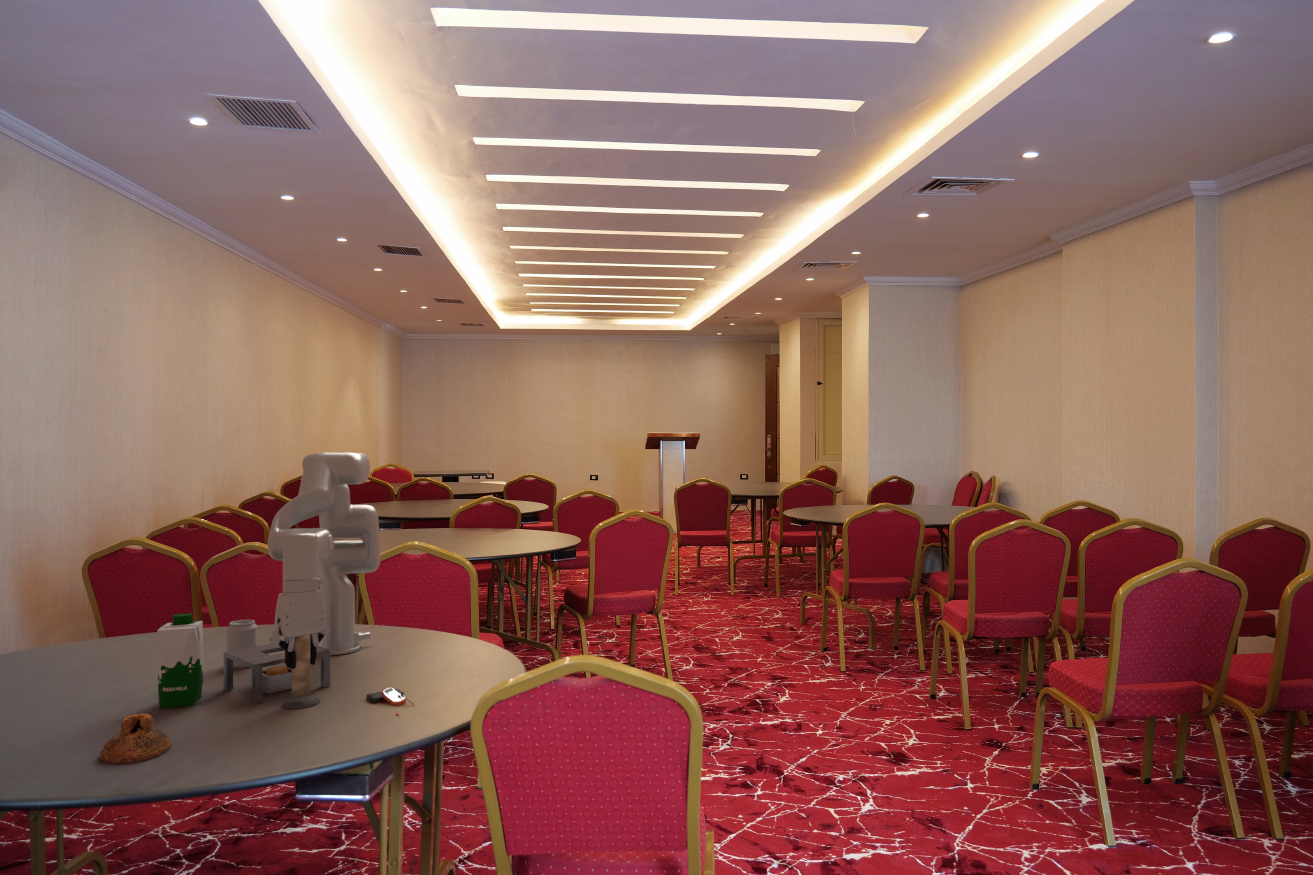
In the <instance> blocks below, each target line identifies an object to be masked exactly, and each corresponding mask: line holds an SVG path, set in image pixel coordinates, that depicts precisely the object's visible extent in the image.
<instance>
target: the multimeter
mask: <svg viewBox="0 0 1313 875" xmlns="http://www.w3.org/2000/svg"><path fill="white" fill-rule="evenodd" d="M366 700H367V701H368V702H370V703H371V704H378V703H383V702H388V703H389V704H390V705H392V704H393V705H394V706H401V705H405V706H406V707H410V706H411V705H407V704H406V702H407V701H408V702H410V704H412V707H415V705H414V703H413V702H412V701H410V699H408V698H407V697H406V696H405V692H404V691H402V690H400V689H398V688H393V687H392V686H391V687H390V686H389V687H387V688H385V689H383V690H382V691H377V692H371V693H367V694H366ZM410 708H411V707H410ZM394 714H395V716H399V713H397V712H394Z"/></svg>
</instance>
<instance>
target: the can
mask: <svg viewBox="0 0 1313 875" xmlns="http://www.w3.org/2000/svg"><path fill="white" fill-rule="evenodd" d="M228 625H229V626H228V627H227V628H226V652H227V651H232V650H238V649H243V648H249V647H254V646H259V645H258V644H259V643H258V635H259V634H258V630H259V628H258V625H257V624H256V621H255V620H254V619H239V620H233V621H231V622H229V624H228ZM247 668H250V667H249V666H247V665H244V664H242V663H239V662H237V661H234V660H233V670H234V669H236V670H238V669H239V670H241V669H247Z"/></svg>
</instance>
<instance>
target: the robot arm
mask: <svg viewBox="0 0 1313 875" xmlns="http://www.w3.org/2000/svg"><path fill="white" fill-rule="evenodd" d="M301 464H302V470H303V472H302V476H301V479H300V480H301V481H300V485H299V490H298V493H297V494H298V495H296V496H295V497H294V498H292V499H291V500H289V501H288V502H287V503H285V505H283V507H281V508H280V509H279V510H278V511H277V512H276V514H275V515H274V516H273V519H272V522H271V525H270V530H269V535H268V539H267V552H268V554H269V556H270V557H271V558H272V559H273V560H274V561H275V560H276V561H282V592H281V593H279V594H278V597H277V602H276V608H275V613H274V630H273V631H272V633H271V635H270V637H269V638H268V640H269V642H271V643H275V644H278V645H279V646H280V647H281V648H283V650H285V651H284V652H285V663H284V664H285V666H287V667H288V668H290V669H295V668H296V652H295V651H293V647H294V641H295V637H299V636H301V635H303V634H305V633H306V634H309V635H310V651H311V666H313V665H316V661H317V659H318V658H317V657H318V656H317V646H320V647H323V648H326V649H329V650H330V656H335V655H336V656H337V655H345V654H350V653H351V654H352V653H354V652H357V651H359V650H360V649H361V644H362V643H360V642H361V641H362V640H370V639H371V637H372V635H371V632H370V631H367V632H363V633H362V632H358V631H356V606H355V604H356V602H355V601H356V600H355V599H356V598H355V597H356V596H355V595H356V593H355V592H356V590H355V586H354V584H353V582H352V581H351V579H349V577H347V575H349V574H365V573H373V572H376V571H377V570H378V569H379V567H380V565H381V544H380V543H381V542H380V538H381V537H380V523H379V515H378V512H377V509H376V508H375V507H374V506H373V505H369V504H351V496H350V495H351V491H350V487H349V486H348V485H362V484H365V482H367V480H368V479H369V477H370V473H371V464H370V459H369V457H368V455H366V453H365V452H318V453H317V452H316V453H310V454H307V455H305V457H304V458H303V460H302V463H301ZM314 517H318V518H319V527H312V528H311V527H310V528H305V527H297V528H292V527H293V526H295V525H296V524H298V523H300V522H303V521H306V520H308V519H311V518H314ZM334 539H345V540H334ZM346 539H355V540H346ZM358 539H359V540H358ZM280 637H283V639H281V638H280Z"/></svg>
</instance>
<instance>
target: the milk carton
mask: <svg viewBox="0 0 1313 875" xmlns="http://www.w3.org/2000/svg"><path fill="white" fill-rule="evenodd" d="M203 623H204V622H203V620H198V621H197V620H194V621H193V613H192V612H182V613H176V614H173V615H172V622H167V623H165V624H164V625H162V626H160V627H159V628H158V629H157V632H156V633H157V688H158V689H157V690H158V705H159V710H161V709H171V708H172V709H173V708H184V707H194V706H195V705H196V703H198V701H199V700H200V699H202V694H203V683H204V624H203Z"/></svg>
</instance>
